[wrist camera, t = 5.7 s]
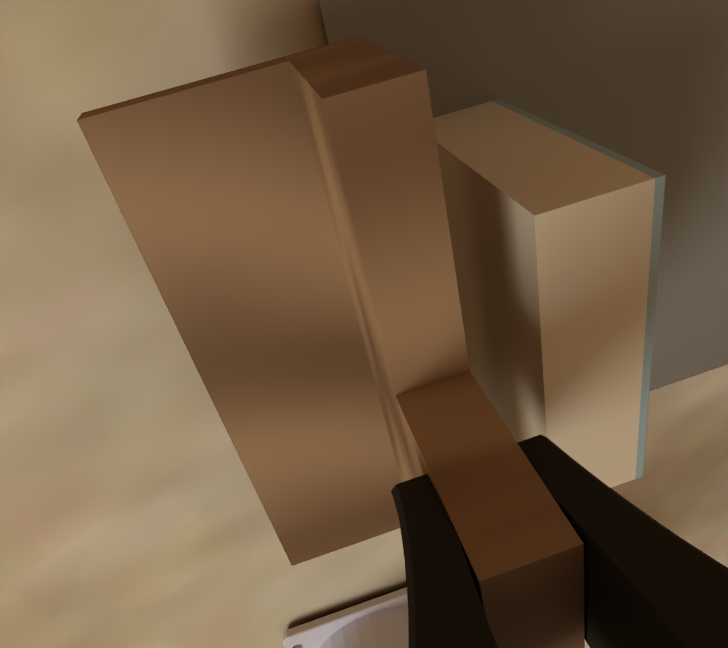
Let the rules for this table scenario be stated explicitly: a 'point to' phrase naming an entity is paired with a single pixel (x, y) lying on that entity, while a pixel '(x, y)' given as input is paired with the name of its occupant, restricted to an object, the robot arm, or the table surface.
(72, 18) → the table surface
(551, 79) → the charcoal mat
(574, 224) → the light tan wooden block
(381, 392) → the walnut scraper
